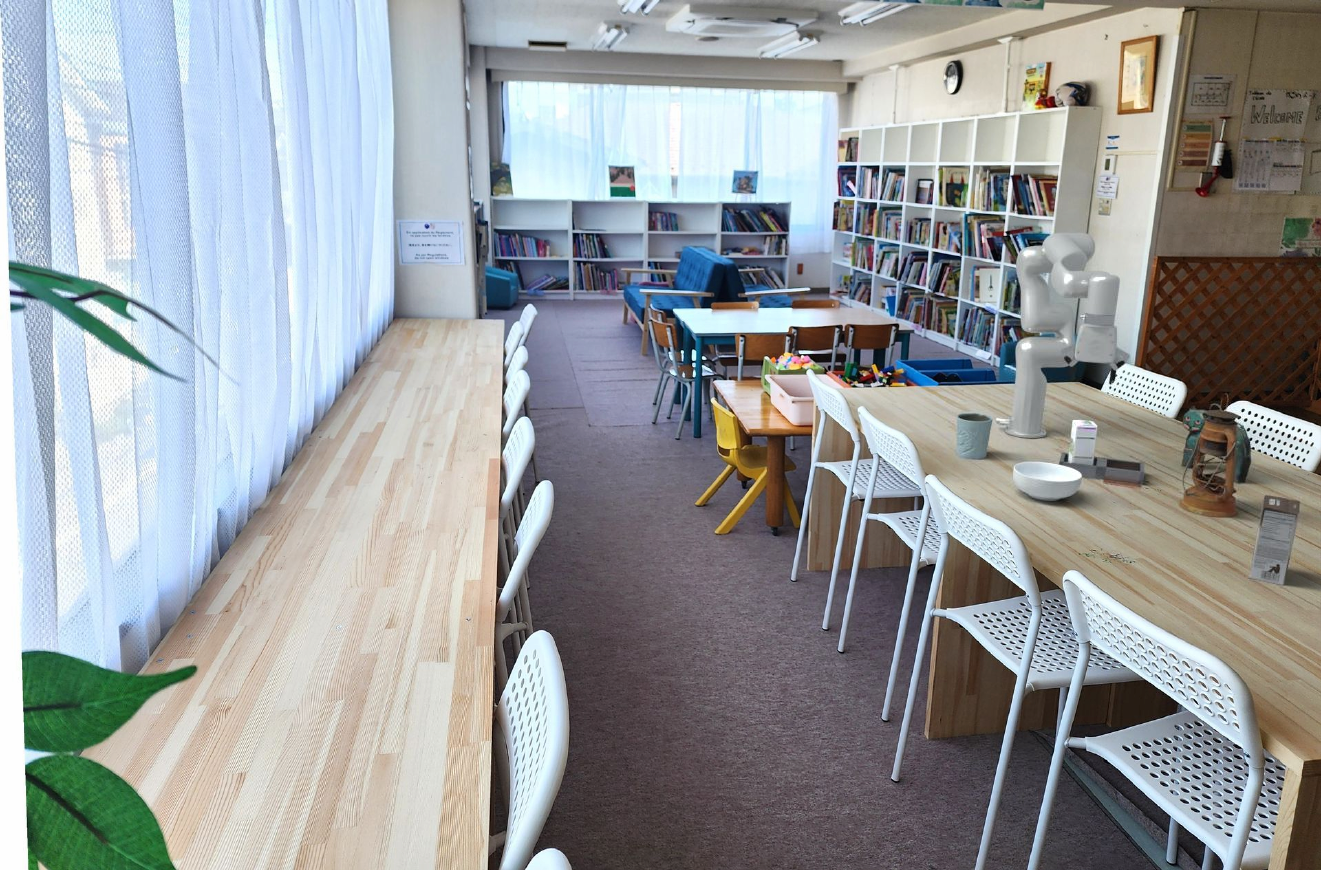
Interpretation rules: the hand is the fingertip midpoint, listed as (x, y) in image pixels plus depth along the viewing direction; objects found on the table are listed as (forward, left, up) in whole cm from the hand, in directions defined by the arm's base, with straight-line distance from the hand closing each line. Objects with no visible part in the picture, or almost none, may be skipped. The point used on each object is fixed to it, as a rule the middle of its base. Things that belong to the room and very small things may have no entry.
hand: (1091, 381), depth 259 cm
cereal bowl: (-7, -27, -26) cm, 38 cm away
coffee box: (+40, -59, -26) cm, 76 cm away
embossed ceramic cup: (-30, +2, -26) cm, 40 cm away
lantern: (+31, -18, -26) cm, 44 cm away
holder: (+5, -2, -26) cm, 27 cm away
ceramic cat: (+34, +16, -26) cm, 46 cm away
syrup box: (0, 0, -26) cm, 26 cm away
